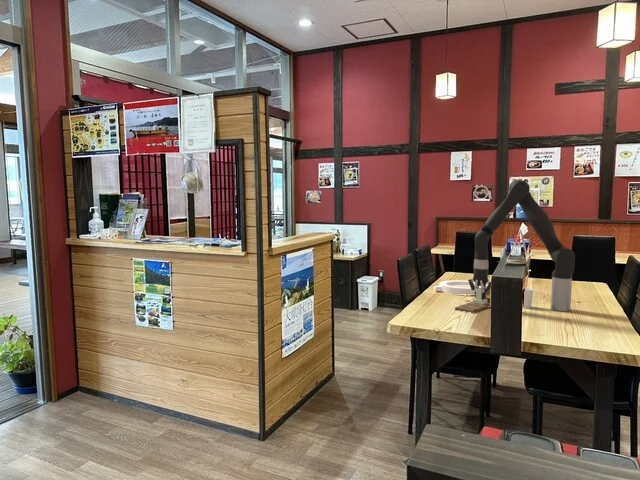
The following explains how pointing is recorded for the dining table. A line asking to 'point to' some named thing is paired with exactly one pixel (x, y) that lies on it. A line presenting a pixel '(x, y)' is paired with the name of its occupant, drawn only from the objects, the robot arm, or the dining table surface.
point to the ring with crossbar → (455, 287)
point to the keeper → (479, 297)
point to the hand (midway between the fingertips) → (480, 298)
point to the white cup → (528, 297)
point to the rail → (473, 306)
